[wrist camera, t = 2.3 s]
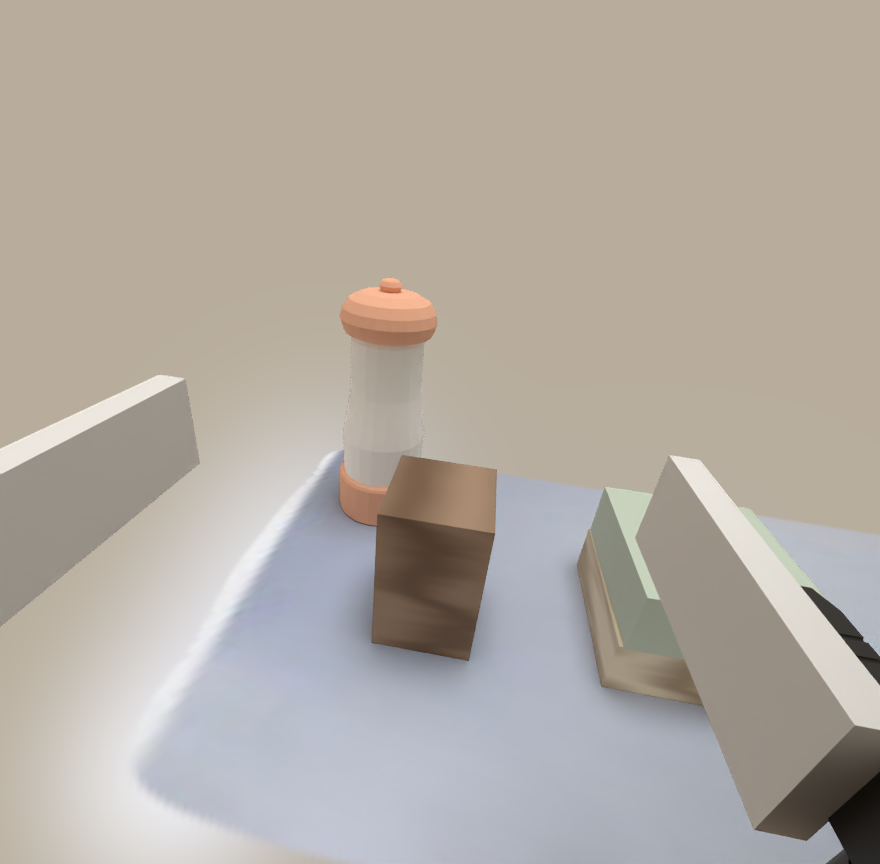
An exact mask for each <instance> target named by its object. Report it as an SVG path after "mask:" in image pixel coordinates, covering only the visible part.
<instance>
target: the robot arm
mask: <svg viewBox="0 0 880 864" xmlns="http://www.w3.org/2000/svg"><path fill="white" fill-rule="evenodd" d="M199 463H200V461H199V455H198V450H197V444H196V438H195V433H194V426H193V420H192V414H191V408H190V403H189V397H188V391H187V386H186V380H185V379H184V378H177V377H171V376H165V375H158V376H155V377H153V378H151V379H149V380H147V381H145V382H142V383H141V384H138V385H136V386H134V387H132V388H130V389H127V390H125V391H123V392H121V393H119V394H117V395H115V396H113V397H110V398H108V399H106V400H104V401H102V402H99V403H97V404H95V405H93V406H91V407H89V408H87V409H85V410H82V411H80V412H78V413H76V414H74V415H72V416H69V417H68V418H65V419H63V420H61V421H59V422H57V423H54V424H52V425H50V426H48V427H46V428H44V429H42V430H39V431H37V432H35V433H33V434H31V435H29V436H27V437H25V438H22V439H20V440H18V441H16V442H14V443H12V444H9V445H7V446H5V447H3V448H1V449H0V627H1V626H2V625H3V624H4V623H5V622H7V621H8V620H9V619H10V618H12V617H13V616H14V615H15V614H17V612H19V611H20V610H21V609H23V608H24V607H25V606H26V605H27V604H29V603H30V602H31V601H32V600H34V599H35V598H36V597H37V596H38V595H40V594H41V593H42V592H43V591H45V590H46V589H47V588H48V587H49V586H51V585H52V584H53V583H54V582H56V581H57V580H58V579H59V578H60V577H62V576H63V575H64V574H65V573H67V571H69V570H70V569H71V568H73V567H74V566H75V565H76V564H78V563H79V562H80V561H81V560H82V559H84V558H85V557H86V556H87V555H88V554H90V553H91V552H92V551H93V550H95V549H96V548H97V547H98V546H99V545H101V544H102V543H103V542H104V541H105V540H107V539H108V538H109V537H110V536H111V535H113V534H114V533H115V532H117V531H118V530H119V529H120V528H121V527H123V526H124V525H125V524H126V523H127V522H129V521H130V520H131V519H132V518H134V517H135V516H136V515H137V514H139V512H141V511H142V510H143V509H144V508H146V507H147V506H148V505H149V504H150V503H152V502H153V501H154V500H156V499H157V498H158V497H159V496H160V495H162V494H163V493H164V492H165V491H166V490H167V489H169V488H170V487H171V486H173V485H174V484H175V483H176V482H178V481H179V480H180V479H181V478H182V477H184V476H185V475H186V474H187V473H189V472H190V471H191V470H192V469H193V468H195V467H196V466H197V465H198V464H199ZM635 539H636V541H637V544H638V546H639V549H640V551H641V554H642V556H643V559H644V561H645V563H646V566H647V568H648V571H649V573H650V576H651V578H652V581H653V583H654V586H655V588H656V590H657V593H658V595H659V598H660V600H661V603H662V605H663V608H664V610H665V613H666V615H667V617H668V620H669V622H670V625H671V627H672V630H673V632H674V635H675V637H676V640H677V642H678V644H679V647H680V649H681V652H682V654H683V657H684V659H685V662H686V664H687V667H688V669H689V672H690V674H691V676H692V679H693V681H694V684H695V686H696V689H697V691H698V694H699V696H700V699H701V701H702V703H703V706H704V708H705V711H706V713H707V716H708V718H709V721H710V723H711V726H712V728H713V730H714V733H715V735H716V738H717V740H718V743H719V745H720V748H721V750H722V753H723V755H724V757H725V760H726V762H727V765H728V767H729V770H730V772H731V775H732V777H733V780H734V782H735V784H736V787H737V789H738V792H739V794H740V797H741V799H742V802H743V804H744V807H745V809H746V811H747V814H748V816H749V819H750V821H751V824H752V826H753V829H754V830H758V831H763V832H768V833H772V834H777V835H782V836H787V837H791V838H796V839H801V840H806V841H807V840H808V839H809V838H810V837H812V836H813V835H814V834H815V833H816V832H817V831H818V830H819V829H821V828H822V827H823V826H824V825H825V824H826V823H827V822H828V821H829V822H830V824H831V826H832V827H833V829H834V831H835V833H836V835H837V837H838V839H839V840H840V842H841V844H842V846H843V848H844V850H842V851H841V852H840V853H839V854H837V855H836V856H835V857H834V858H833V859H831V860H830V861H829V862H828V863H826V864H880V656H879V655H878V654H877V653H876V652H875V651H874V649H873V648H872V647H871V646H870V645H869V643H865V642H864V641H863V636H862V635H861V634H860V633H859V632H858V631H857V629H856V628H855V627H854V626H853V625H852V624H851V622H850V621H849V620H848V619H847V618H846V616H845V615H844V614H843V613H842V612H841V611H840V610H839V609H838V608H836V607H835V606H834V605H832V604H831V603H830V602H829V601H827V600H826V599H825V598H824V597H822V596H821V595H820V594H819V593H817V592H816V591H815V590H814V589H812V588H810V587H804V586H800V585H799V584H798V583H797V581H796V580H795V579H794V578H793V576H792V575H791V574H790V573H789V571H788V570H787V569H786V567H785V566H784V565H783V564H782V562H781V561H780V560H779V559H778V557H777V556H776V555H775V554H774V552H773V551H772V550H771V549H770V547H769V546H768V545H767V544H766V542H765V541H764V540H763V539H762V537H761V536H760V535H759V534H758V532H757V531H756V530H755V529H754V527H753V526H752V525H751V524H750V522H749V521H748V520H747V519H746V517H745V516H744V515H743V514H742V512H741V511H740V510H739V509H738V507H737V506H736V505H735V504H734V502H733V501H732V500H731V499H730V497H729V496H728V495H727V494H726V492H725V491H724V490H723V489H722V488H721V486H720V485H719V484H718V482H717V481H716V480H715V479H714V478H713V476H712V475H711V474H710V472H709V471H708V470H707V469H706V468H705V466H704V465H703V464H702V463H701V461H700V460H696V459H690V458H684V457H678V456H671V455H669V456H668V459H667V461H666V464H665V466H664V469H663V471H662V474H661V476H660V478H659V481H658V483H657V486H656V488H655V490H654V493H653V495H652V498H651V500H650V502H649V505H648V507H647V510H646V512H645V515H644V517H643V519H642V522H641V524H640V527H639V529H638V532H637V534H636V536H635Z"/></svg>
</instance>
